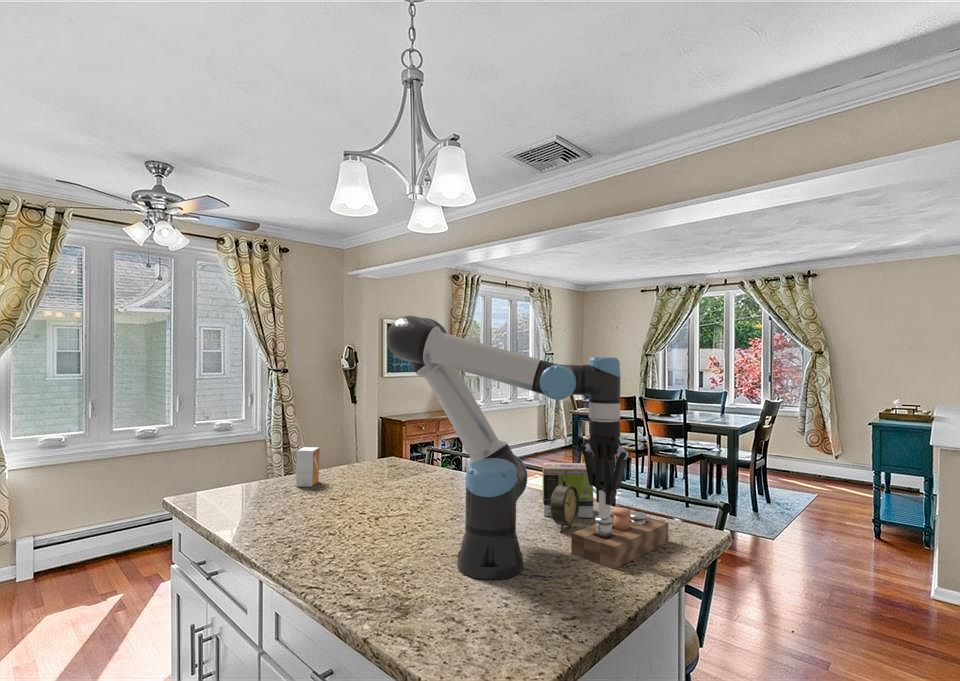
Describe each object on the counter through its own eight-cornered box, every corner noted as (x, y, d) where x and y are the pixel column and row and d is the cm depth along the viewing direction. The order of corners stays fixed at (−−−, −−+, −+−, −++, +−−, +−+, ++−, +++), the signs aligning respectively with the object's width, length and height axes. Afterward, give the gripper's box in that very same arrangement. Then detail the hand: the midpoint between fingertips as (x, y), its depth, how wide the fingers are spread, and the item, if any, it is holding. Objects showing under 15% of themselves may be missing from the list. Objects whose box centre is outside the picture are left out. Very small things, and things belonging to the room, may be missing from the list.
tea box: (589, 509, 162) (589, 462, 163) (593, 519, 152) (593, 469, 153) (542, 507, 164) (542, 461, 164) (542, 517, 154) (543, 467, 154)
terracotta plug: (624, 534, 127) (624, 513, 127) (609, 529, 130) (609, 509, 130) (633, 530, 130) (634, 510, 130) (618, 525, 133) (618, 506, 133)
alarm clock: (564, 535, 138) (565, 475, 139) (546, 531, 141) (547, 472, 141) (580, 524, 147) (580, 468, 148) (562, 521, 150) (563, 465, 151)
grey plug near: (606, 543, 121) (606, 522, 121) (591, 538, 124) (591, 517, 124) (616, 539, 124) (616, 518, 124) (601, 534, 127) (601, 514, 127)
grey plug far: (641, 537, 132) (641, 518, 132) (626, 533, 135) (626, 514, 135) (649, 533, 135) (649, 514, 135) (634, 529, 138) (634, 511, 138)
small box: (312, 487, 185) (313, 450, 186) (295, 486, 185) (296, 450, 186) (319, 481, 193) (320, 446, 194) (302, 481, 193) (303, 446, 194)
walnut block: (614, 569, 116) (614, 547, 116) (571, 553, 125) (571, 533, 125) (668, 541, 134) (668, 522, 134) (627, 530, 143) (627, 512, 143)
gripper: (636, 421, 123) (636, 520, 122) (591, 416, 132) (591, 508, 132) (619, 423, 118) (620, 527, 117) (573, 418, 127) (573, 514, 126)
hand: (604, 516), depth 124 cm, fingers closed
